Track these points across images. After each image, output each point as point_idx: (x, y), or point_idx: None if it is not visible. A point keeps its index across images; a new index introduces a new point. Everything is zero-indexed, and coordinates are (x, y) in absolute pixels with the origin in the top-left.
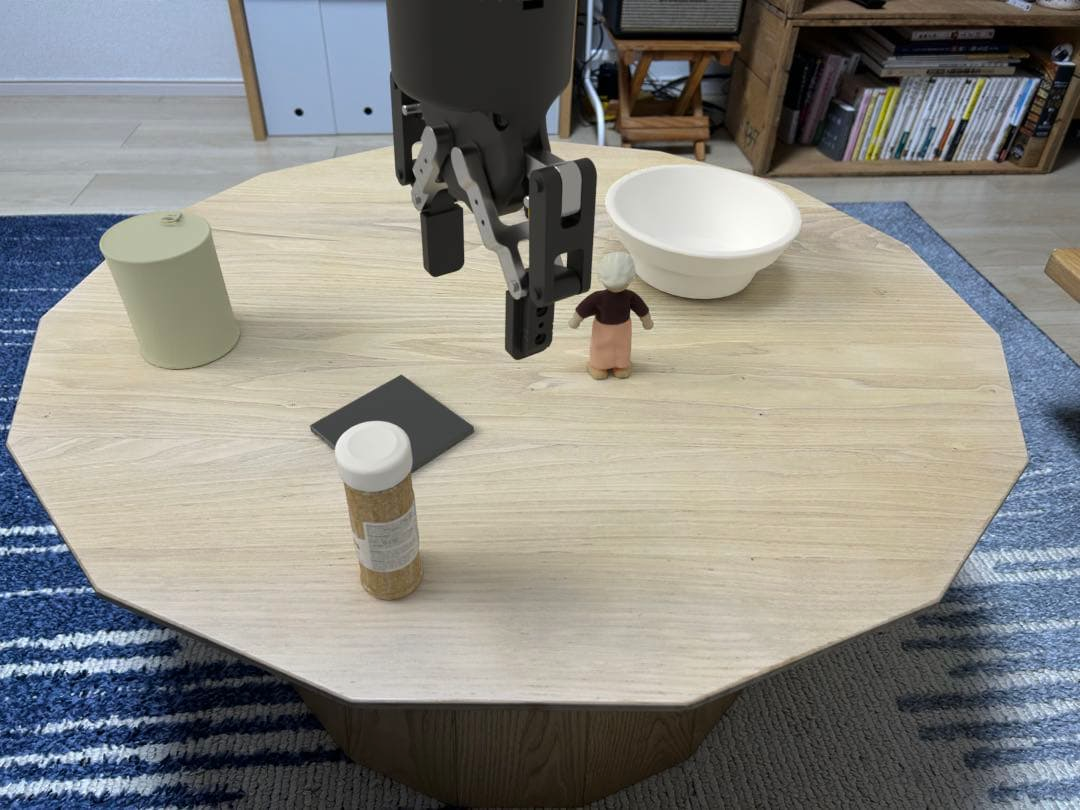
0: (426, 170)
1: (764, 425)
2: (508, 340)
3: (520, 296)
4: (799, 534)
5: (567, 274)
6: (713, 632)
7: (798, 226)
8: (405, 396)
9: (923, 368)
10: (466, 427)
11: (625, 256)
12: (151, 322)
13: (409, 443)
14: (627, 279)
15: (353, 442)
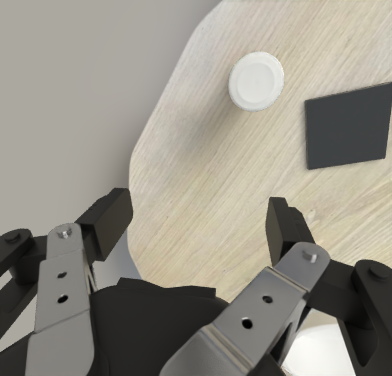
0: (245, 305)
1: (218, 267)
2: (114, 194)
3: (56, 227)
4: (167, 237)
5: (13, 275)
6: (147, 183)
7: (285, 368)
8: (363, 150)
9: None
10: (311, 166)
11: (313, 310)
12: None
13: (242, 108)
14: None
15: (266, 70)
